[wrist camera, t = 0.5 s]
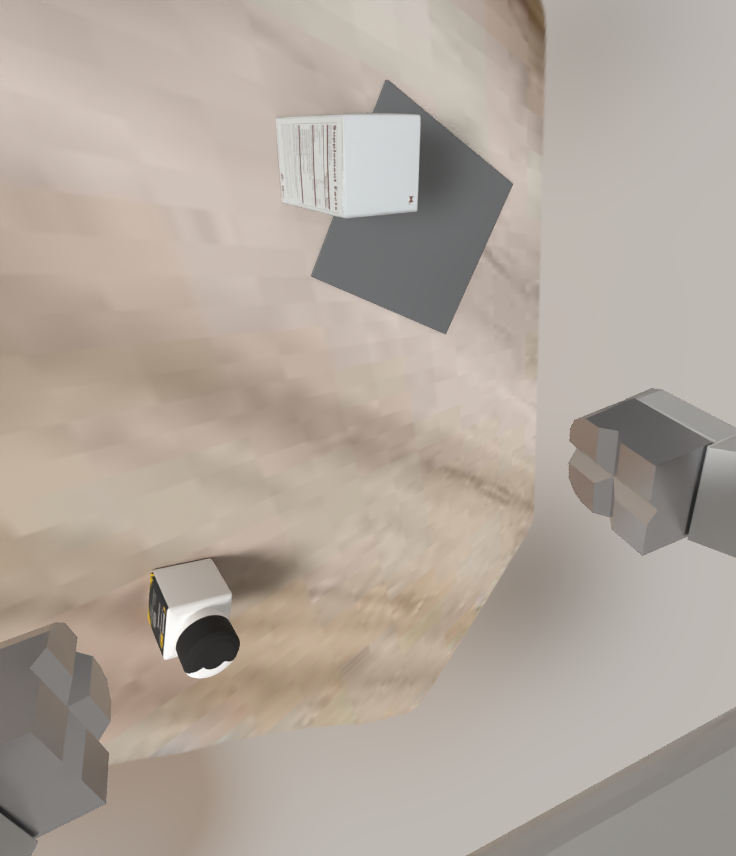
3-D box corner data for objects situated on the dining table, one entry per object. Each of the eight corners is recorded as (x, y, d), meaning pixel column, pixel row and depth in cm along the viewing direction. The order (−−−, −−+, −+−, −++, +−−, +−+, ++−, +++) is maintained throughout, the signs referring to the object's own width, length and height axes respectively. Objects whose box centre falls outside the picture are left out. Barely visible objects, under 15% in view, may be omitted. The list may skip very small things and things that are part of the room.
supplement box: (344, 116, 51) (425, 113, 42) (345, 200, 55) (420, 214, 45) (272, 114, 48) (342, 111, 38) (278, 204, 51) (344, 220, 42)
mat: (310, 276, 56) (312, 276, 56) (385, 79, 52) (387, 79, 52) (443, 333, 71) (445, 334, 71) (511, 183, 67) (512, 183, 66)
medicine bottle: (149, 569, 61) (182, 643, 52) (211, 556, 65) (251, 623, 56) (146, 618, 63) (177, 697, 55) (206, 602, 67) (243, 673, 59)
